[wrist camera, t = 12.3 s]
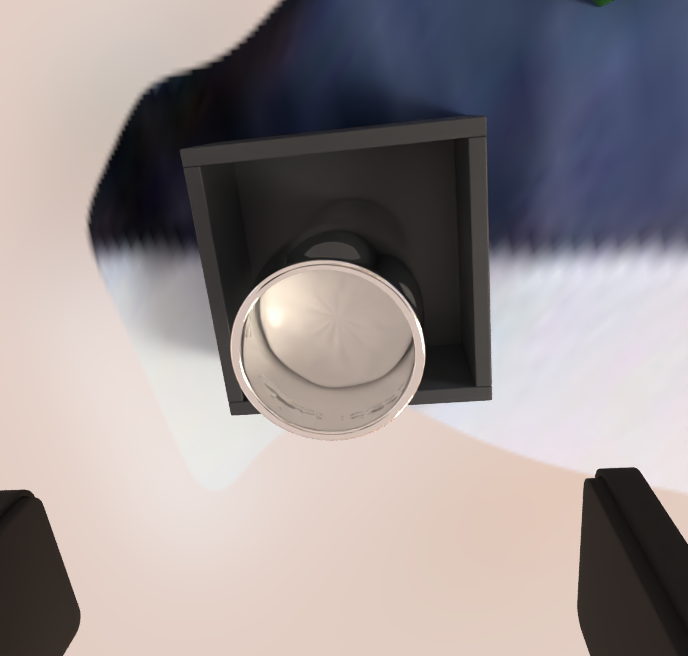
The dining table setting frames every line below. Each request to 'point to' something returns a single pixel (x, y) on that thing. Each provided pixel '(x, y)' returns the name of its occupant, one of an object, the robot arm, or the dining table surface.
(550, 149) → the dining table surface
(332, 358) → the beer glass
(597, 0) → the milk carton
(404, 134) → the bin
